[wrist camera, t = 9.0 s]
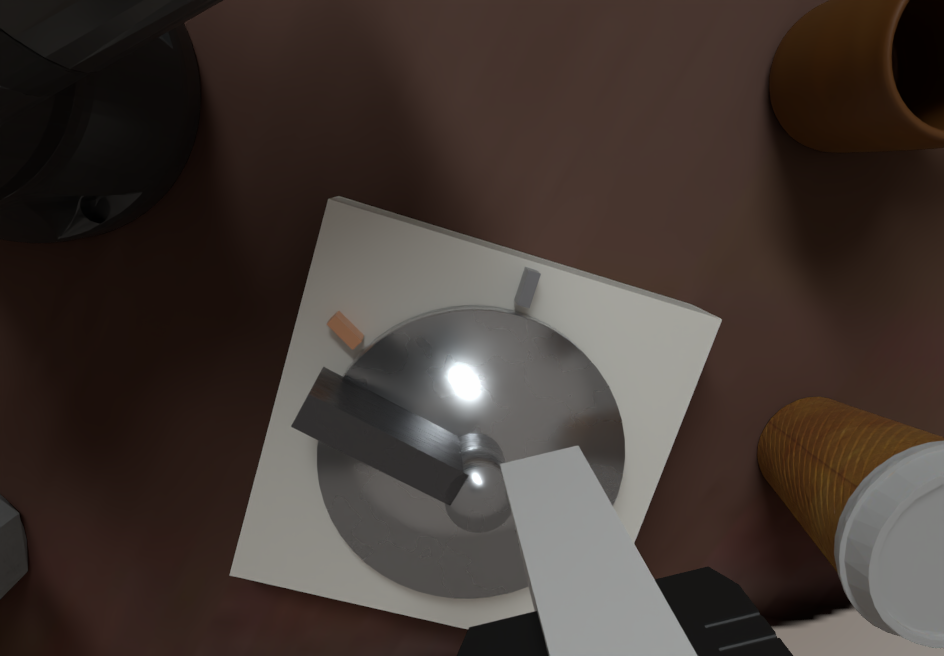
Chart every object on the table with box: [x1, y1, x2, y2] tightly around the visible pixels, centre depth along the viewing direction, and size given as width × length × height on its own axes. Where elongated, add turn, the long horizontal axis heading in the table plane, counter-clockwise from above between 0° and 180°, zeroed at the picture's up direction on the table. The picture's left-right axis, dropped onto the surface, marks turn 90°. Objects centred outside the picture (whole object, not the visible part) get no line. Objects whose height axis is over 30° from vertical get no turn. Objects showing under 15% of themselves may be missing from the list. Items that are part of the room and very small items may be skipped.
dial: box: [291, 305, 625, 599], centre depth 31 cm, size 16×15×5 cm
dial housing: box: [230, 196, 722, 629], centre depth 35 cm, size 20×20×5 cm
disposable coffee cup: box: [757, 397, 944, 648], centre depth 34 cm, size 10×10×12 cm
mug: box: [769, 0, 944, 153], centre depth 31 cm, size 12×8×9 cm, turn 90°
